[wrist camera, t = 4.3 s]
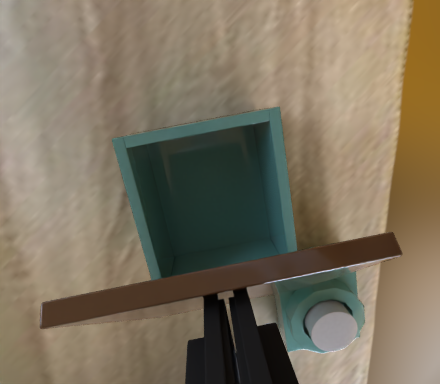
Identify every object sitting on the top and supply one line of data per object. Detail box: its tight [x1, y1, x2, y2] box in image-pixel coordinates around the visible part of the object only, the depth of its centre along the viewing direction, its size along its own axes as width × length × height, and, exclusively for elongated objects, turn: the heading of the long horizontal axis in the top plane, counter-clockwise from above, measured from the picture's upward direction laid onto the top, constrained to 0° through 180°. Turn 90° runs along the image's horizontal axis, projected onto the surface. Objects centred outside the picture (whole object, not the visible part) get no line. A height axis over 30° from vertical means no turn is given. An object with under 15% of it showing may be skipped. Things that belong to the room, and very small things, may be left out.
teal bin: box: [112, 107, 297, 280], centre depth 25 cm, size 14×12×8 cm
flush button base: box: [274, 271, 365, 353], centre depth 30 cm, size 9×8×5 cm
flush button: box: [305, 300, 357, 351], centre depth 27 cm, size 4×4×2 cm
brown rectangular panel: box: [40, 232, 402, 329], centre depth 16 cm, size 14×12×1 cm
